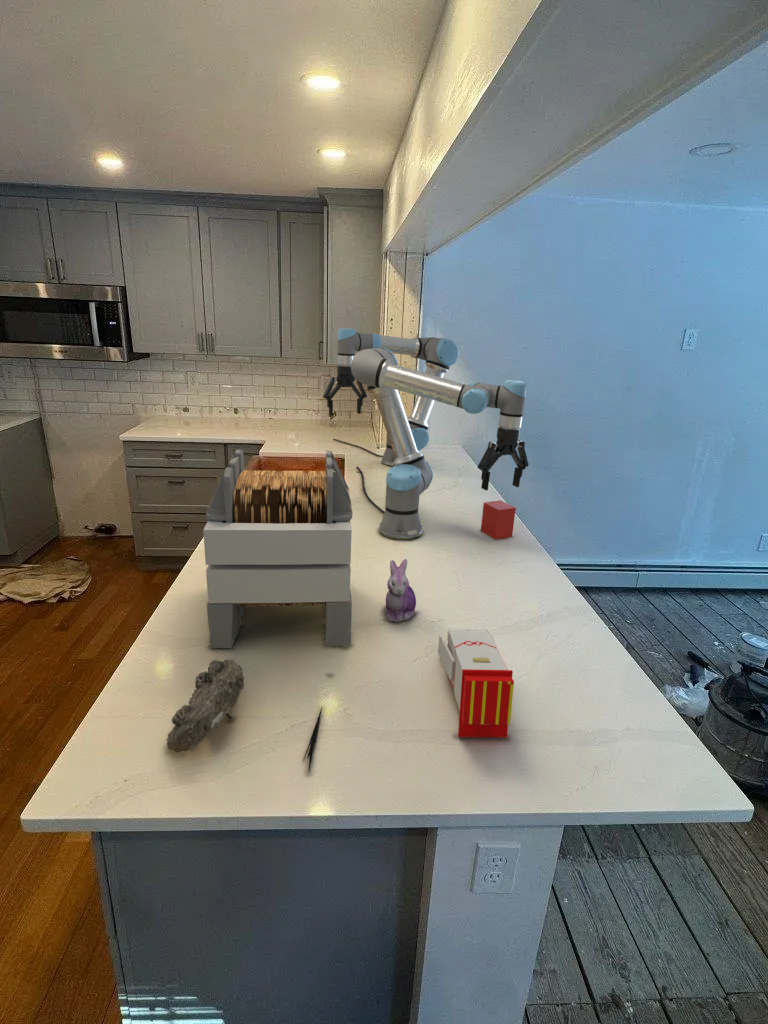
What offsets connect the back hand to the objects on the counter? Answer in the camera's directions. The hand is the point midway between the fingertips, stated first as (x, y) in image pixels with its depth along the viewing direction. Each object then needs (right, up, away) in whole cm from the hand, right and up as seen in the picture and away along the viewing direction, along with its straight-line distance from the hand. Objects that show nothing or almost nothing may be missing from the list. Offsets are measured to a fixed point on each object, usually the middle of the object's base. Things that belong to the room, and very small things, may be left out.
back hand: (344, 414), depth 254 cm
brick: (+58, -52, -50) cm, 92 cm away
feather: (+5, -84, -145) cm, 168 cm away
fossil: (-15, -83, -146) cm, 169 cm away
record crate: (-8, -70, -108) cm, 129 cm away
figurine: (+22, -70, -107) cm, 130 cm away
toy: (+35, -81, -135) cm, 162 cm away
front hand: (+58, -35, -56) cm, 88 cm away
